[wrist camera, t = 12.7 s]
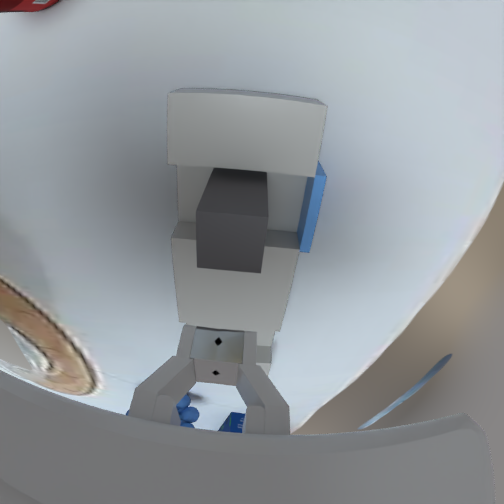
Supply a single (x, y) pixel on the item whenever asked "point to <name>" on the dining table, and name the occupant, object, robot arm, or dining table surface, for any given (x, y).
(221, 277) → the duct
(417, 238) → the dining table surface
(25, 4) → the canned food
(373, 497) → the robot arm
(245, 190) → the dark grey rectangular box
